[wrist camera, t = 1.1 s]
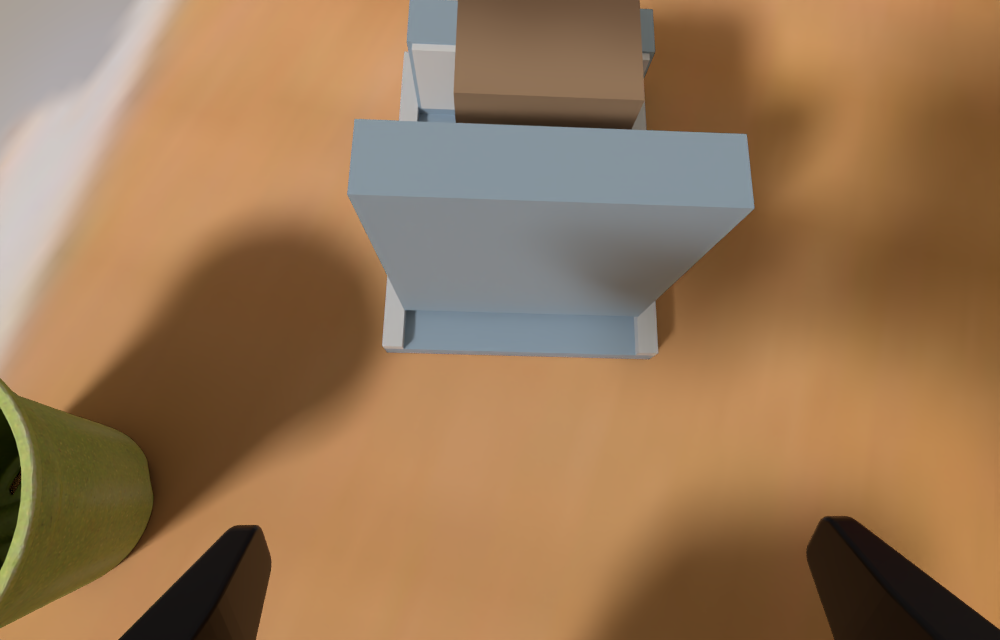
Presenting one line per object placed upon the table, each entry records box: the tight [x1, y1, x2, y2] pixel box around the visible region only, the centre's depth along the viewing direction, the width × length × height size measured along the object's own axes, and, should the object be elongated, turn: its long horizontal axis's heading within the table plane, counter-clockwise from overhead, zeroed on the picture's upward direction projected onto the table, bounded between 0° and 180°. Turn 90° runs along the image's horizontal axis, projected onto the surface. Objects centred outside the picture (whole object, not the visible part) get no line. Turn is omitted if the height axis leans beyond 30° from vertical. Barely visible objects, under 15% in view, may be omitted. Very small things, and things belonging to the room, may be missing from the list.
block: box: [453, 0, 645, 130], centre depth 20 cm, size 4×5×10 cm
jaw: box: [347, 119, 754, 317], centre depth 18 cm, size 2×10×10 cm, turn 89°
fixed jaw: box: [407, 0, 655, 115], centre depth 24 cm, size 2×10×4 cm, turn 89°
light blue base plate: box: [382, 52, 658, 359], centre depth 25 cm, size 14×11×1 cm
